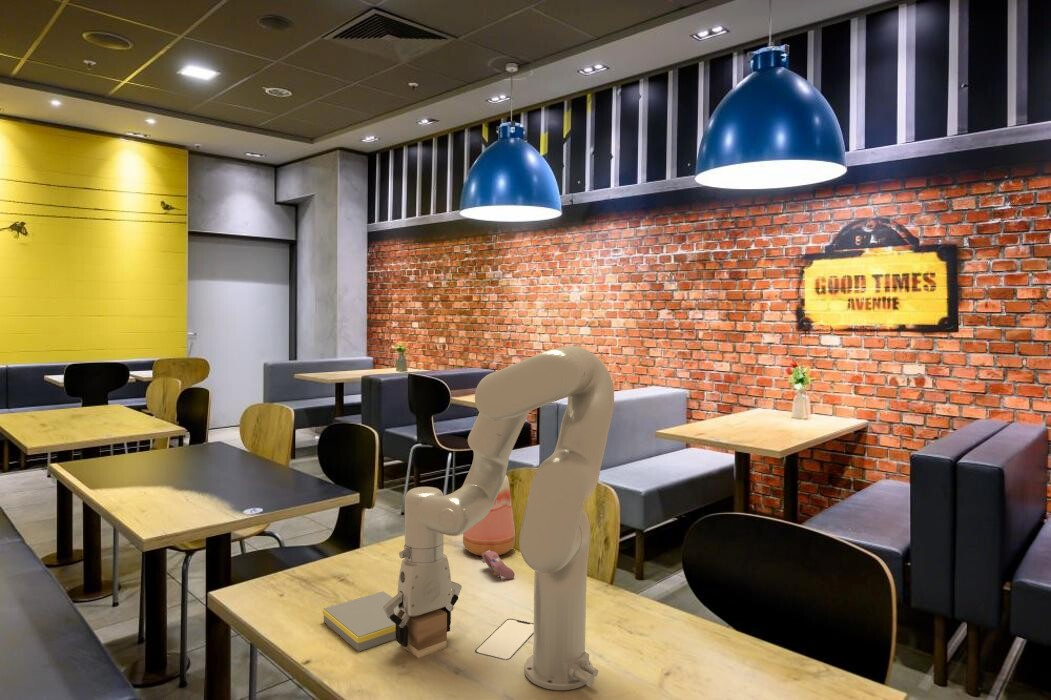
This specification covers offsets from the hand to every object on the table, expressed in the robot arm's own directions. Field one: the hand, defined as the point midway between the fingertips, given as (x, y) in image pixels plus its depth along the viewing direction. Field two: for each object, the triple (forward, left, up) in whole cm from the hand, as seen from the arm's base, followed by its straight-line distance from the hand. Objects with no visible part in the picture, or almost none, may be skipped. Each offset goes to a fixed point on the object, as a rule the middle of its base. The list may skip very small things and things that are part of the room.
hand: (423, 636), depth 134 cm
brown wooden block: (0, 0, -2) cm, 2 cm away
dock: (+14, +4, -2) cm, 15 cm away
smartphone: (-8, -15, -2) cm, 17 cm away
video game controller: (+20, -34, -2) cm, 39 cm away
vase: (+34, -42, -2) cm, 54 cm away
